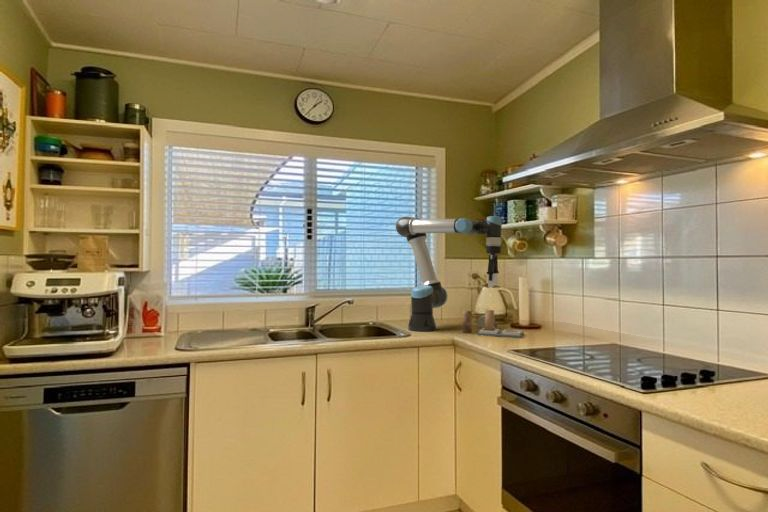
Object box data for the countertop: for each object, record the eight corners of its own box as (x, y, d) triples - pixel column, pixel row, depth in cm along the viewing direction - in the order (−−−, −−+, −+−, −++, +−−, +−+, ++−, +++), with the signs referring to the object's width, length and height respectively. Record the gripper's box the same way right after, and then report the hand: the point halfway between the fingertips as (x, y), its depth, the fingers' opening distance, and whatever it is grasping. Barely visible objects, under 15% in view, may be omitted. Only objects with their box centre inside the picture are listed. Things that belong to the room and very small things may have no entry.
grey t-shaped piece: (477, 335, 220) (477, 311, 220) (482, 331, 230) (482, 308, 231) (520, 338, 211) (520, 313, 211) (523, 334, 222) (523, 310, 222)
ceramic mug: (476, 328, 242) (476, 314, 242) (483, 326, 248) (483, 313, 248) (494, 330, 235) (494, 316, 235) (500, 328, 241) (500, 315, 241)
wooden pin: (461, 332, 227) (461, 311, 227) (464, 331, 231) (463, 310, 231) (470, 333, 225) (470, 312, 225) (472, 332, 229) (472, 311, 229)
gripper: (497, 245, 217) (496, 288, 217) (503, 246, 240) (502, 285, 240) (482, 244, 220) (481, 287, 220) (489, 246, 243) (489, 284, 243)
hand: (492, 286), depth 230 cm, fingers open, 13 cm apart
